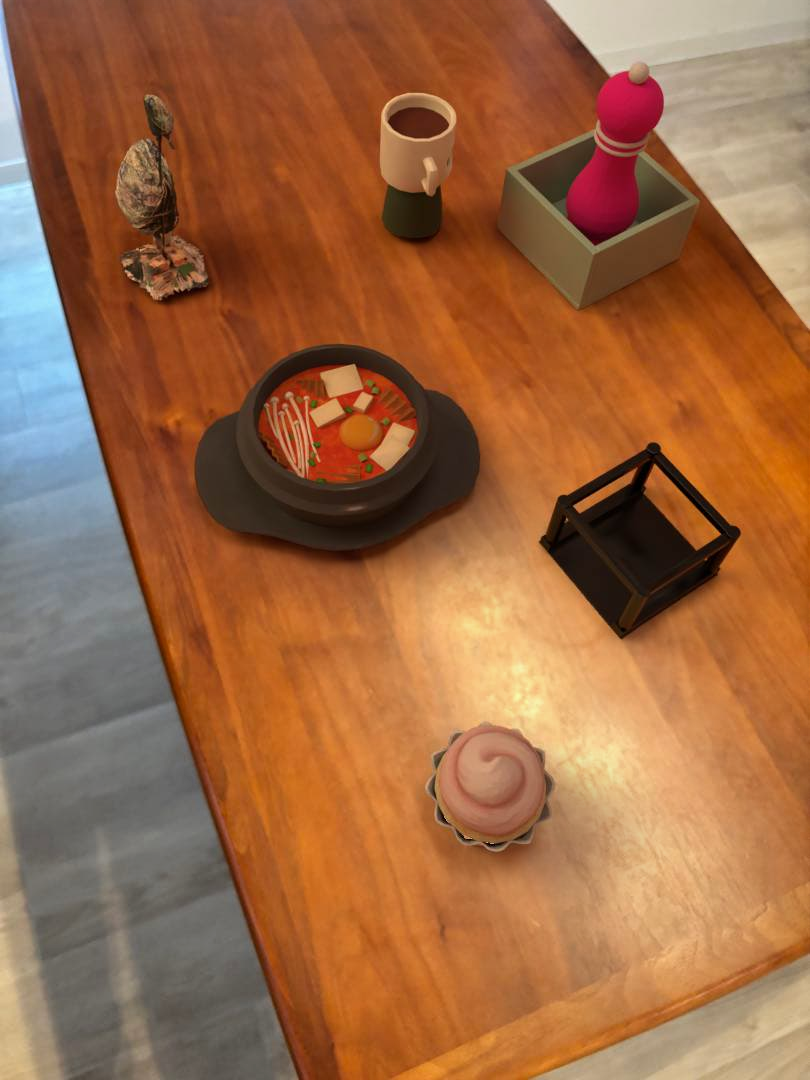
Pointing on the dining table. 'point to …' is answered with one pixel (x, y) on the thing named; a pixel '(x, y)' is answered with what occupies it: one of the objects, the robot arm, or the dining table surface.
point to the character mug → (415, 162)
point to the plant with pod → (156, 213)
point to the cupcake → (490, 786)
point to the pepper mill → (615, 155)
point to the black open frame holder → (633, 545)
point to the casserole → (336, 452)
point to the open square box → (563, 250)
